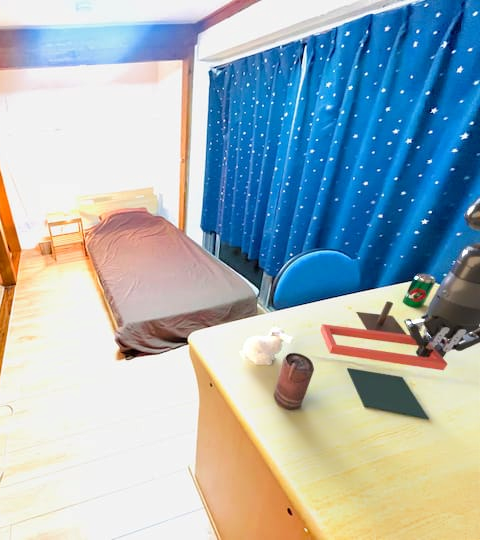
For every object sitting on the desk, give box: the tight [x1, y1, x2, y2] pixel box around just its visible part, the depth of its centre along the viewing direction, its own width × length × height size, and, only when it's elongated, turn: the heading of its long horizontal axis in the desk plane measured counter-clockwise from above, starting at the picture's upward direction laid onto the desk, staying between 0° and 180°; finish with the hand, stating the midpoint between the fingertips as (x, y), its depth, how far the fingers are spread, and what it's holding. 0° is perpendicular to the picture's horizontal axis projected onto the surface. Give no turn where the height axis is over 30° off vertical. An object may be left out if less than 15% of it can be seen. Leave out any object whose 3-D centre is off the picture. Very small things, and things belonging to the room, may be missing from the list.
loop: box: [319, 323, 448, 371], centre depth 65 cm, size 8×20×2 cm, turn 71°
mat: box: [346, 367, 430, 420], centre depth 70 cm, size 12×12×1 cm
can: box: [273, 352, 315, 412], centre depth 67 cm, size 6×6×14 cm
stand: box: [355, 301, 408, 335], centre depth 88 cm, size 10×10×9 cm
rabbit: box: [239, 327, 294, 366], centre depth 79 cm, size 12×9×12 cm
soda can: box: [402, 273, 437, 309], centre depth 94 cm, size 5×5×12 cm
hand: (426, 358), depth 63 cm, fingers closed on loop, 1 cm apart
